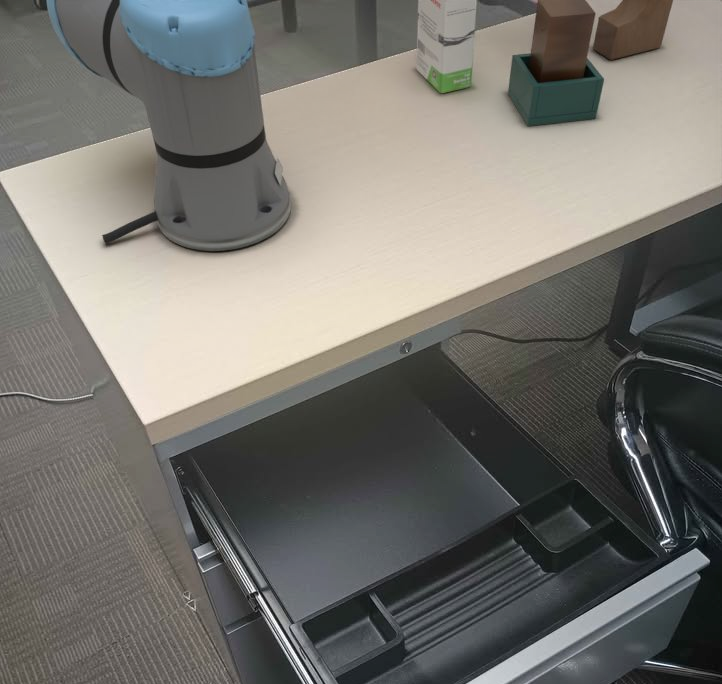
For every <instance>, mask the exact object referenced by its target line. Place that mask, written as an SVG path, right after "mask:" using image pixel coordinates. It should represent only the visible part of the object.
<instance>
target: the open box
mask: <svg viewBox="0 0 722 684" xmlns="http://www.w3.org/2000/svg"><path fill="white" fill-rule="evenodd" d="M530 53H531V52H528V53H520V54H519V53H518V54H512V55H511V63H510V64H511V65H510V72H509V80H508V90H507V95H508V96H509V98H510V100H511V102H512V103H513V104H514V106H515V108H516V109H517V111H518V113H519V114H520V116H521V118H522V120H523V121H524V122H525V124H526V126H527V127H533V126H544V125H551V124H552V125H553V124H559V123H569V122H575V121H576V122H577V121H587V120H595V119H597V115H598V111H599V106H600V101H601V96H602V92H603V88H604V87H603V86H604V82H605V78H604V77H603V76H602V74H601V73H600V71H599V70H598V69H597V68H596V67H595V66H594V64H593V62H591V61H590V59H589V58H588V57H587V60H586V66H585V71H584V76H583V78H582V79H573V80H563V81H554V82H545V83H537V81H536V80H535V79H534V77H533V76H532V74H531V73H530V71H529V70H528V68H529V61H530Z"/></svg>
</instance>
